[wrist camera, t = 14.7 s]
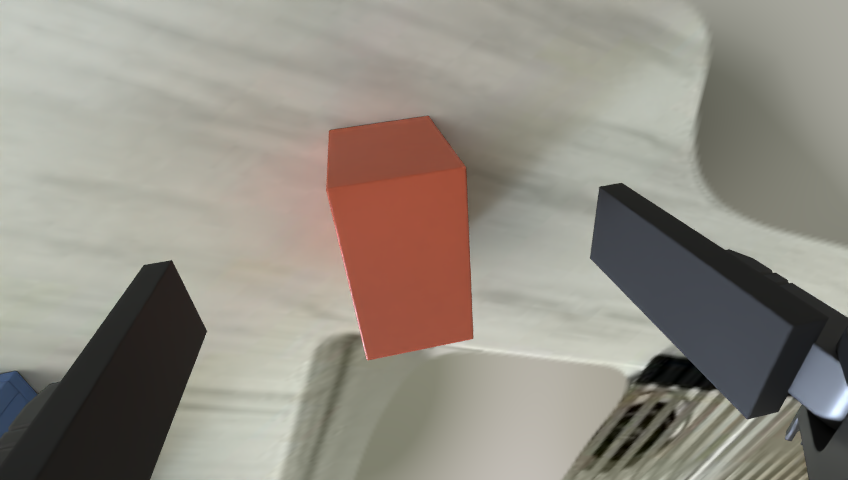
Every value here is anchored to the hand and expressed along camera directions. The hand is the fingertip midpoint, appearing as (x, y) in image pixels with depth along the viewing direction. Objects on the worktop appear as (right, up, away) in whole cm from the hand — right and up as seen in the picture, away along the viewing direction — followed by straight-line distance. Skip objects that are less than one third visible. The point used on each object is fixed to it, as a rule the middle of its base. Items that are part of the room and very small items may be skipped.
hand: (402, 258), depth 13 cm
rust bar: (-1, +2, +3) cm, 4 cm away
